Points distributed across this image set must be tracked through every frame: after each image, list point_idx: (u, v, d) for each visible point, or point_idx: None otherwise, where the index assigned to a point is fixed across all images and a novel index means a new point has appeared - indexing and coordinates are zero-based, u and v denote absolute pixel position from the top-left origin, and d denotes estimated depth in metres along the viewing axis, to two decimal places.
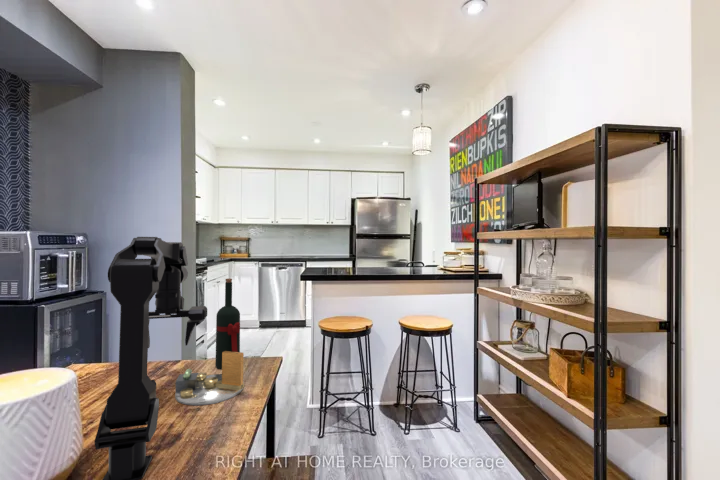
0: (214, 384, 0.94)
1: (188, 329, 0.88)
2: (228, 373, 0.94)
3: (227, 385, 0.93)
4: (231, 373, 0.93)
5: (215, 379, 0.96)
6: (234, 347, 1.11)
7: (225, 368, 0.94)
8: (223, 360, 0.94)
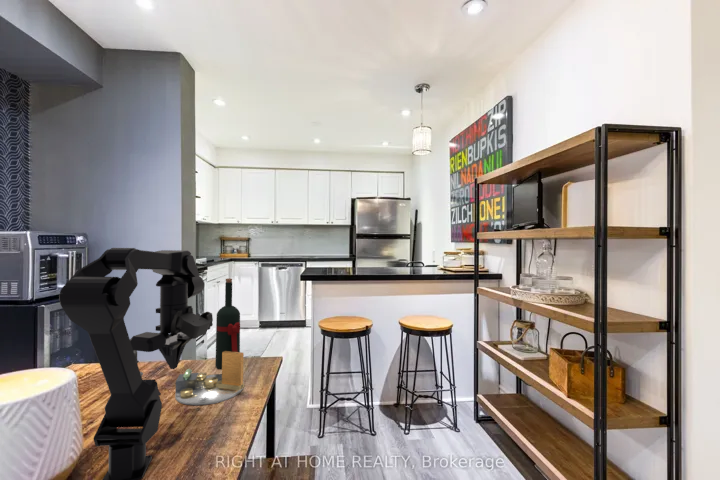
0: (214, 384, 0.94)
1: None
2: (228, 373, 0.94)
3: (227, 385, 0.93)
4: (231, 373, 0.93)
5: (215, 379, 0.96)
6: (234, 347, 1.11)
7: (225, 368, 0.94)
8: (223, 360, 0.94)
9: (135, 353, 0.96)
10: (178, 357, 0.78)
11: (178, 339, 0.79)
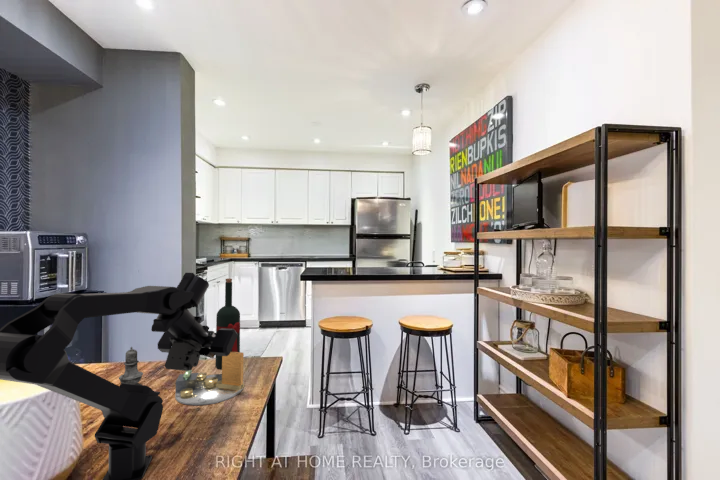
0: (214, 384, 0.94)
1: None
2: (228, 373, 0.94)
3: (227, 385, 0.93)
4: (231, 373, 0.93)
5: (215, 379, 0.96)
6: (234, 347, 1.11)
7: (225, 368, 0.94)
8: (223, 360, 0.94)
9: (135, 353, 0.96)
10: (208, 355, 0.84)
11: None
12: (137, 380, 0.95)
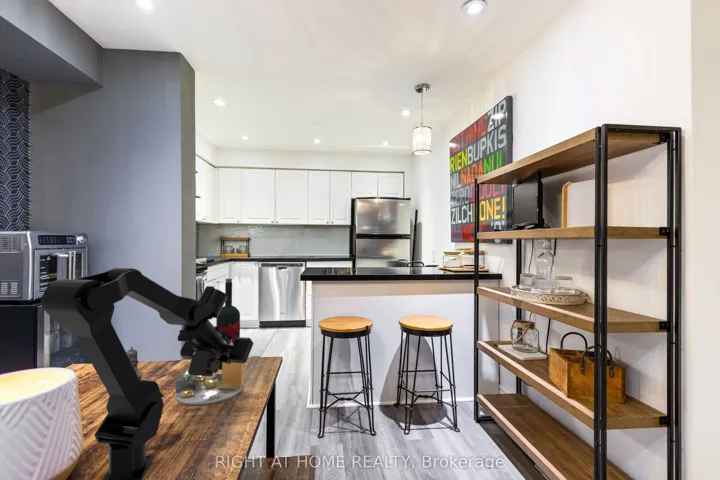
0: (214, 384, 0.94)
1: None
2: (228, 373, 0.94)
3: (227, 385, 0.93)
4: (231, 373, 0.94)
5: (215, 379, 0.96)
6: None
7: (225, 368, 0.94)
8: None
9: (135, 353, 0.96)
10: (225, 361, 0.91)
11: None
12: None
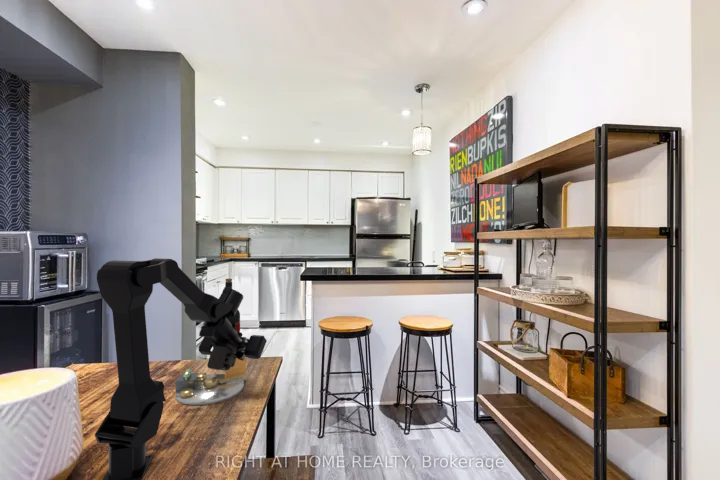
0: (217, 382, 0.96)
1: None
2: (233, 366, 0.99)
3: (233, 377, 0.99)
4: (236, 365, 0.99)
5: (214, 378, 0.97)
6: None
7: None
8: None
9: None
10: (240, 358, 0.98)
11: None
12: None
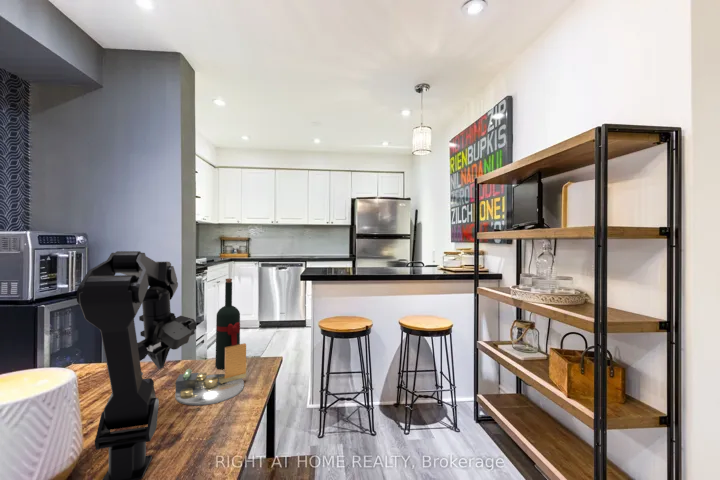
0: (217, 382, 0.96)
1: None
2: (233, 366, 0.99)
3: (233, 377, 0.99)
4: (236, 365, 0.99)
5: (214, 378, 0.97)
6: None
7: (229, 362, 0.98)
8: (227, 355, 0.98)
9: None
10: (164, 358, 0.83)
11: (163, 342, 0.83)
12: None
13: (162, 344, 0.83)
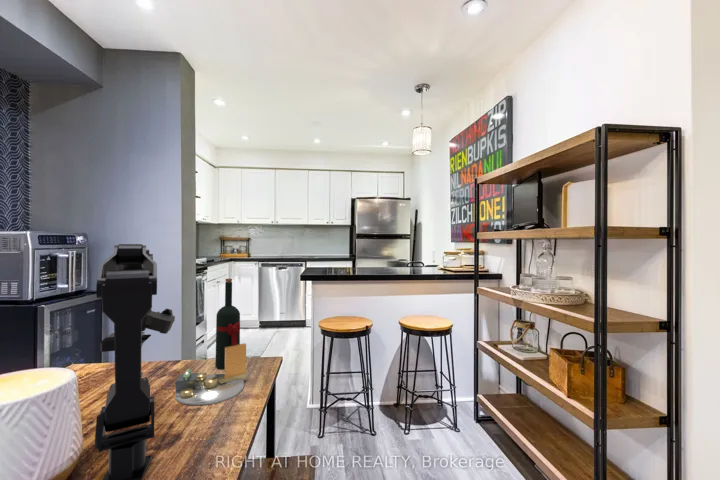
0: (217, 382, 0.96)
1: None
2: (233, 366, 0.99)
3: (233, 377, 0.99)
4: (236, 365, 0.99)
5: (214, 378, 0.97)
6: None
7: (229, 362, 0.98)
8: (227, 355, 0.98)
9: None
10: None
11: None
12: None
13: None
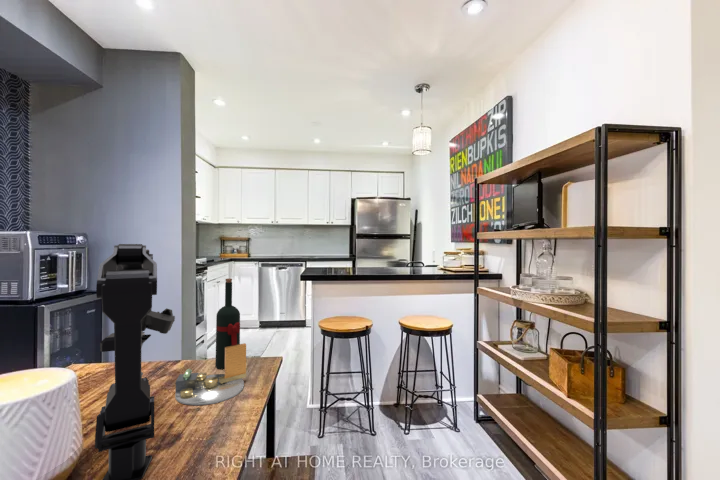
0: (217, 382, 0.96)
1: None
2: (233, 366, 0.99)
3: (233, 377, 0.99)
4: (236, 365, 0.99)
5: (214, 378, 0.97)
6: None
7: (229, 362, 0.98)
8: (227, 355, 0.98)
9: None
10: None
11: None
12: None
13: None
